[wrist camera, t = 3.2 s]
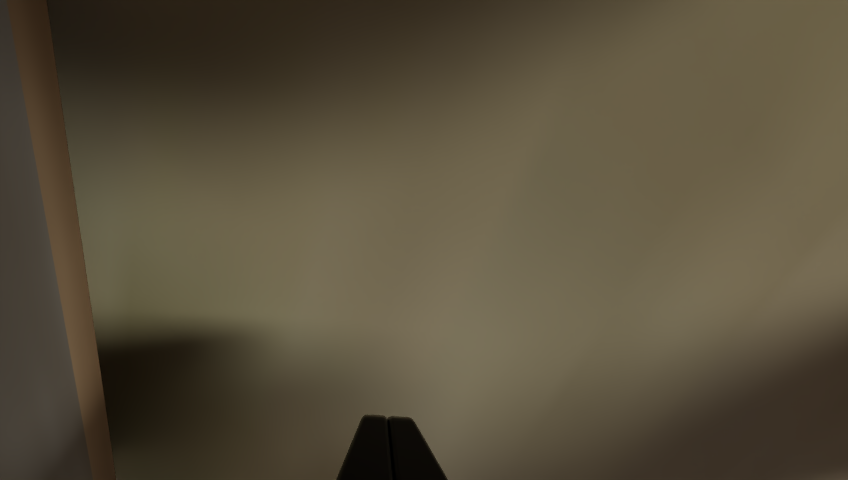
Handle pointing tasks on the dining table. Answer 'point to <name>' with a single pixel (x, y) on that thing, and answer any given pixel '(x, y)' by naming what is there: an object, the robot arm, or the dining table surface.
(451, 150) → the dining table surface
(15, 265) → the cart
